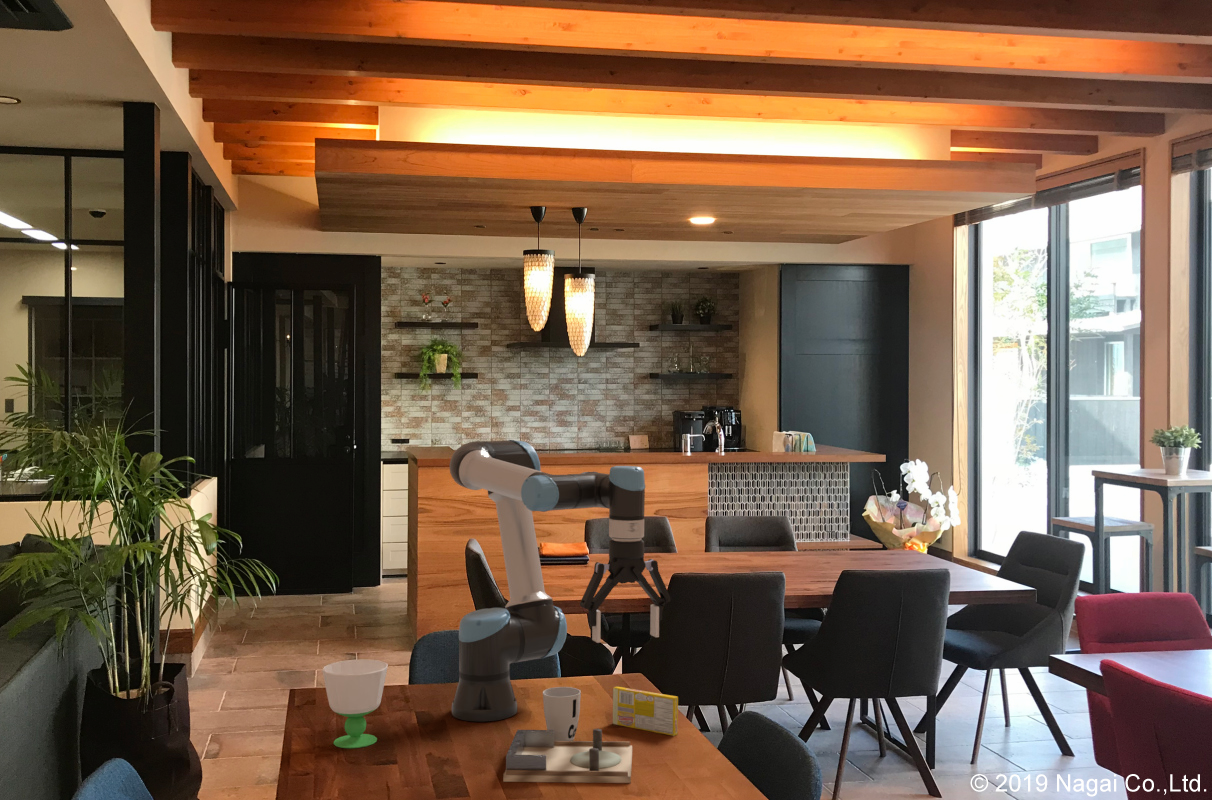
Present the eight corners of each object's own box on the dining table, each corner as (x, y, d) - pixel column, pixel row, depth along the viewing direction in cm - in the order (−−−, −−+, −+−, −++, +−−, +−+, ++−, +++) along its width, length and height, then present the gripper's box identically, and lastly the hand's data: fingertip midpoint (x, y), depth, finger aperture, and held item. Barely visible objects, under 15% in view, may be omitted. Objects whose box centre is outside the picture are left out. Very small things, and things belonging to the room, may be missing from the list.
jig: (503, 781, 190) (503, 753, 190) (516, 750, 208) (516, 724, 208) (630, 783, 189) (630, 755, 189) (632, 751, 207) (632, 725, 207)
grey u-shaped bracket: (506, 773, 190) (506, 756, 191) (517, 745, 207) (517, 729, 207) (546, 773, 190) (546, 756, 190) (554, 745, 206) (554, 730, 207)
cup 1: (333, 731, 221) (333, 659, 221) (395, 731, 220) (395, 659, 221) (313, 752, 207) (313, 674, 207) (379, 752, 207) (379, 675, 207)
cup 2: (576, 746, 210) (575, 697, 210) (538, 743, 212) (538, 695, 212) (584, 734, 218) (584, 687, 218) (548, 731, 220) (548, 685, 220)
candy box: (679, 734, 218) (678, 696, 218) (674, 737, 216) (673, 698, 216) (617, 722, 227) (617, 685, 227) (611, 724, 225) (611, 687, 226)
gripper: (578, 543, 206) (577, 647, 206) (686, 538, 216) (685, 637, 216) (565, 539, 213) (564, 639, 213) (671, 534, 223) (670, 630, 223)
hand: (625, 638), depth 214 cm, fingers open, 13 cm apart
